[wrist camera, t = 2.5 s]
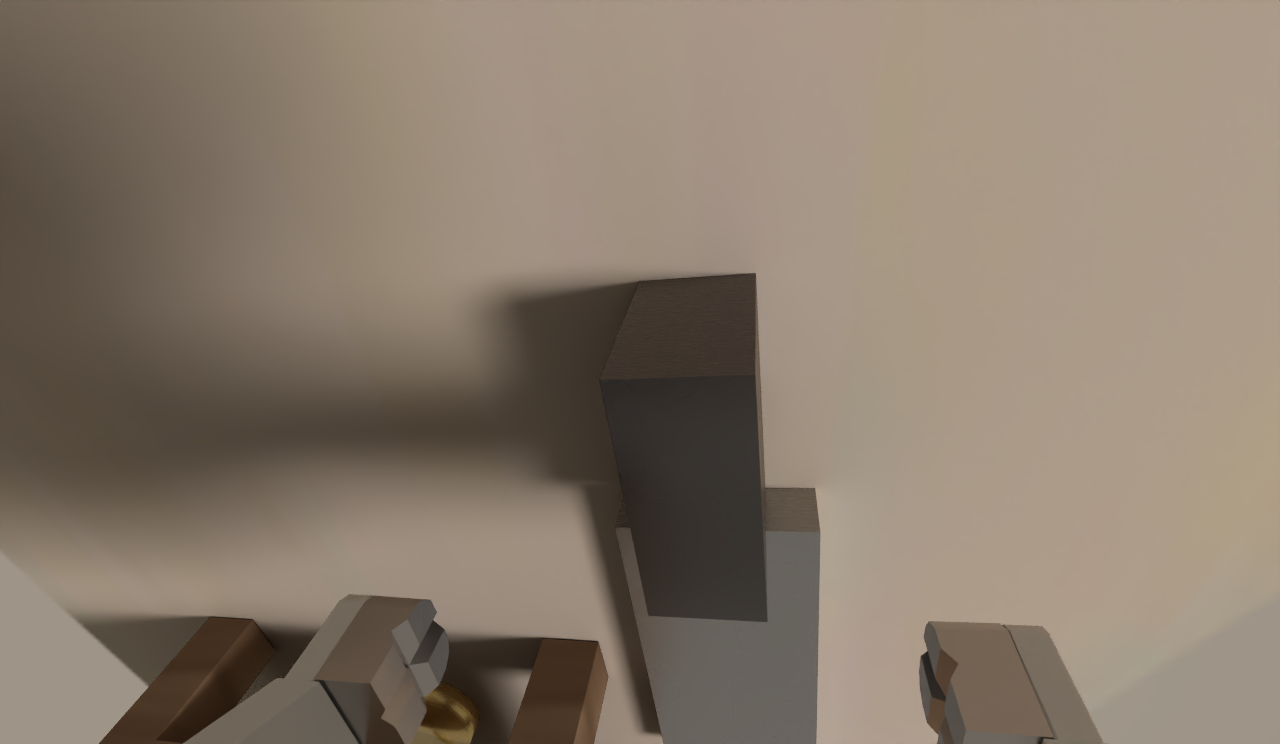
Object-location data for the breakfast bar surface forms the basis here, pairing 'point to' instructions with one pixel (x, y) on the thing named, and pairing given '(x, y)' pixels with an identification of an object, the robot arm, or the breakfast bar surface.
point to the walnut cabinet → (238, 651)
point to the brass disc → (447, 717)
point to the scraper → (711, 521)
